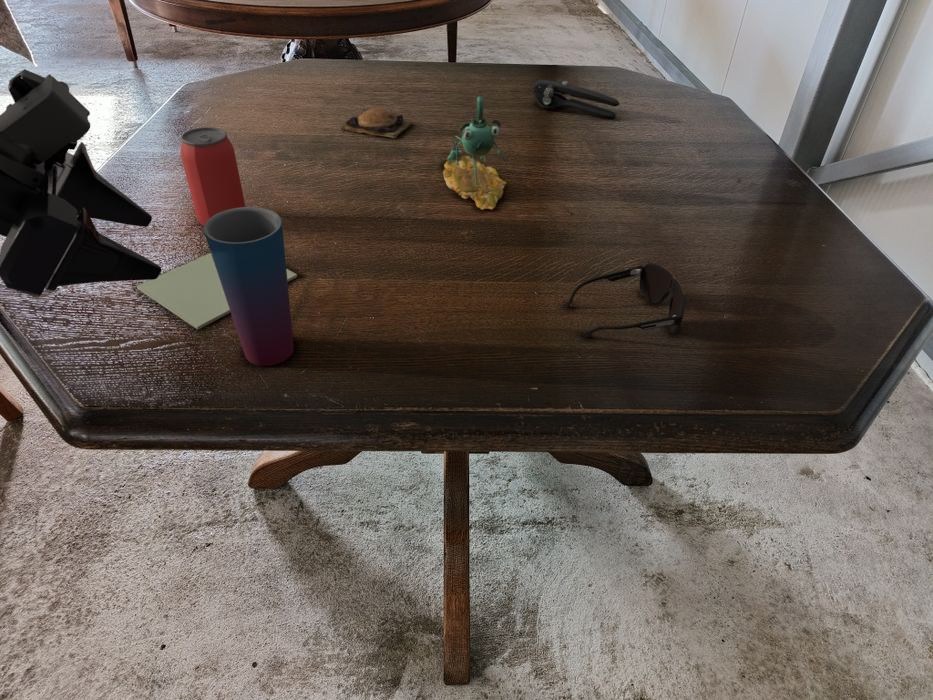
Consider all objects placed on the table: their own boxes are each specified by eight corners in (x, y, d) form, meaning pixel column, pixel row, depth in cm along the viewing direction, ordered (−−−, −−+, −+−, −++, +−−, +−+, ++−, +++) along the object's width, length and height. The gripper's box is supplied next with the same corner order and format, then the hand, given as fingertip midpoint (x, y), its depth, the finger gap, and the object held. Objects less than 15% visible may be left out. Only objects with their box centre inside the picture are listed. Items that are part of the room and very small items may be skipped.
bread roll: (413, 125, 118) (413, 105, 116) (394, 140, 112) (393, 120, 109) (363, 115, 120) (362, 96, 118) (341, 130, 114) (339, 109, 112)
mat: (197, 330, 68) (196, 327, 68) (137, 288, 74) (136, 286, 74) (297, 277, 77) (297, 274, 77) (236, 243, 83) (236, 241, 82)
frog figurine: (488, 159, 107) (498, 72, 96) (517, 220, 95) (532, 128, 84) (433, 162, 105) (437, 73, 94) (455, 224, 93) (463, 130, 82)
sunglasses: (691, 339, 71) (698, 303, 67) (591, 360, 69) (593, 325, 66) (651, 286, 79) (656, 253, 75) (560, 305, 77) (561, 271, 74)
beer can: (202, 235, 84) (180, 148, 76) (194, 213, 88) (172, 129, 81) (252, 225, 86) (235, 140, 79) (242, 205, 91) (225, 122, 83)
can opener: (526, 109, 127) (529, 80, 123) (536, 99, 132) (539, 71, 128) (612, 125, 122) (618, 95, 118) (619, 114, 127) (625, 85, 123)
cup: (293, 324, 70) (272, 201, 60) (309, 361, 65) (289, 234, 56) (230, 339, 67) (198, 214, 58) (242, 379, 63) (209, 249, 53)
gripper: (-45, 93, 34) (219, 220, 45) (-12, 16, 47) (187, 129, 58) (-119, 252, 37) (145, 336, 48) (-70, 138, 50) (131, 225, 61)
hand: (154, 246), depth 54 cm, fingers open, 9 cm apart
